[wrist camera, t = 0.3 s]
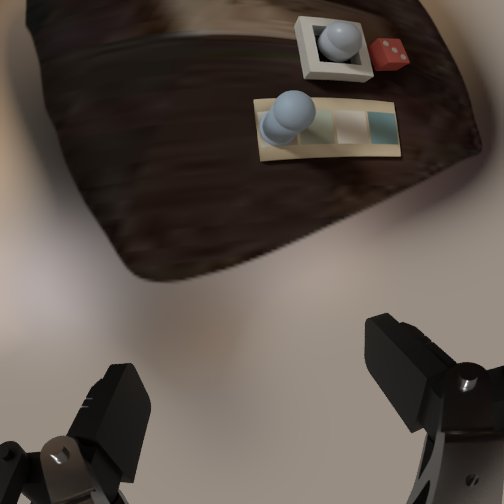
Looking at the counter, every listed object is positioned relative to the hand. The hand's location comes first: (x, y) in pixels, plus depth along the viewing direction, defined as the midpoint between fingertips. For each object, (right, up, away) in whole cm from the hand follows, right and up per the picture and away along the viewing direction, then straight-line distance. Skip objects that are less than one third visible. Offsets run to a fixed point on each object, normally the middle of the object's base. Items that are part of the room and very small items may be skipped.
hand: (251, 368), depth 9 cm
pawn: (+3, +19, +24) cm, 31 cm away
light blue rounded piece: (+11, +31, +21) cm, 39 cm away
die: (+19, +32, +23) cm, 44 cm away
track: (+10, +20, +25) cm, 34 cm away
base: (+11, +31, +23) cm, 40 cm away
